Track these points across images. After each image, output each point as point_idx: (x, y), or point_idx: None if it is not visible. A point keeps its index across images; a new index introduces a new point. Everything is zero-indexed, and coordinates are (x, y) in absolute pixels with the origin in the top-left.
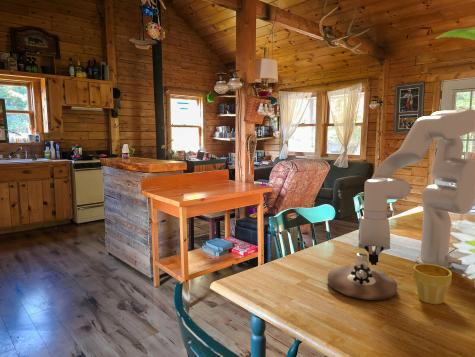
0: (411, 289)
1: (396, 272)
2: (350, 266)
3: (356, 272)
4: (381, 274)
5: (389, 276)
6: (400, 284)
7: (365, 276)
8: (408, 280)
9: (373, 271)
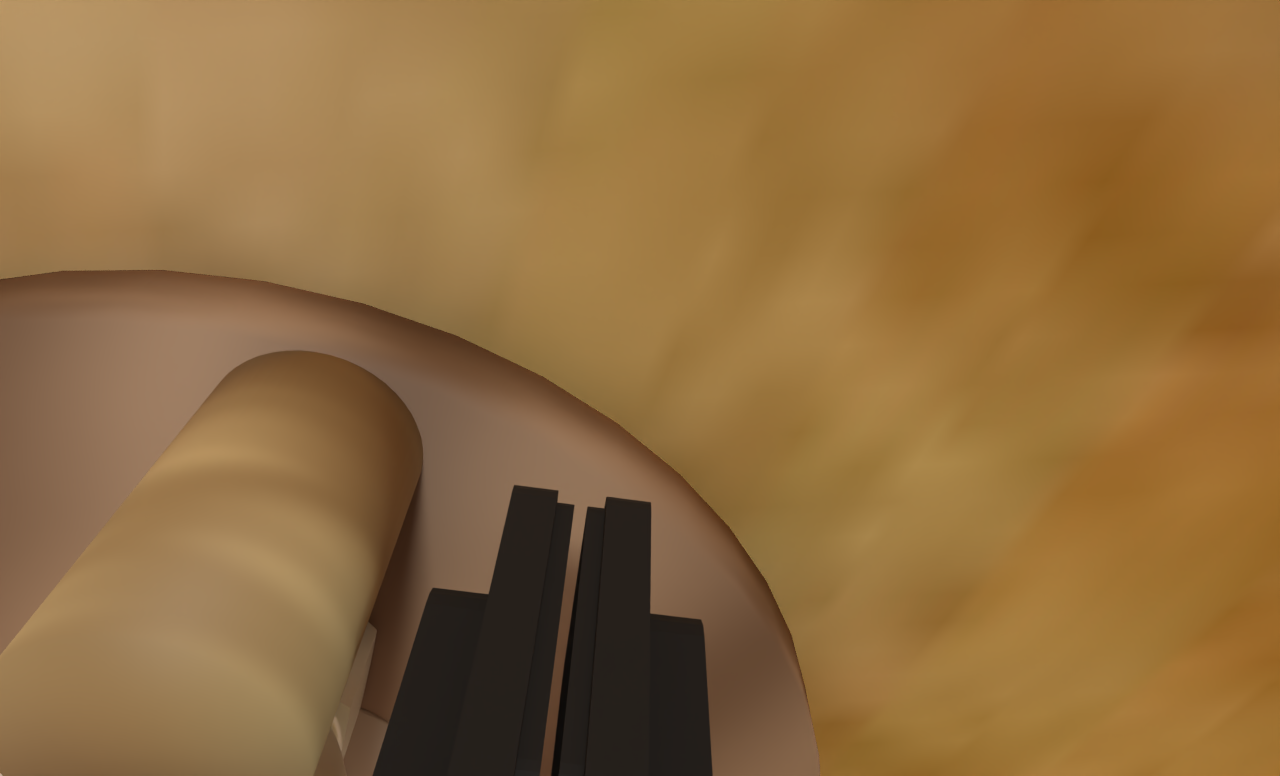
0: (1021, 744)
1: (1270, 129)
2: (8, 326)
3: None
4: None
5: (794, 741)
6: (958, 629)
7: None
8: (1214, 497)
9: None
